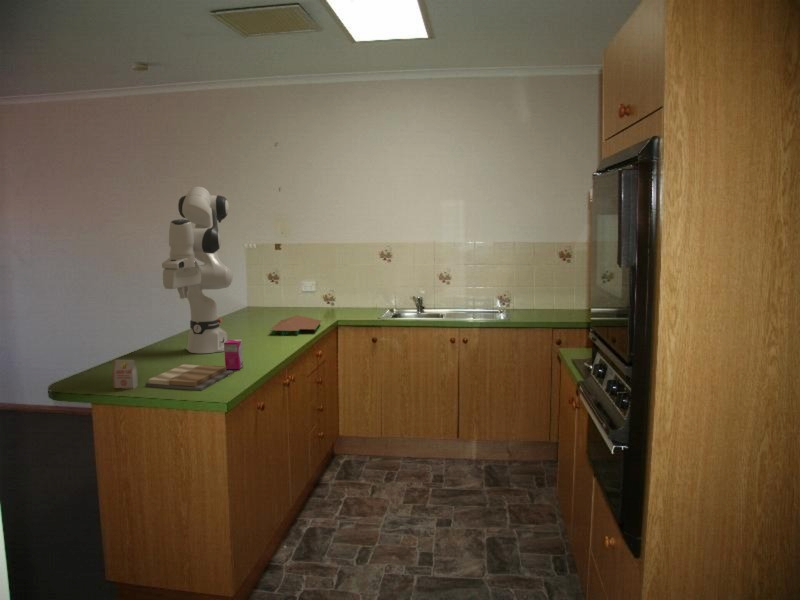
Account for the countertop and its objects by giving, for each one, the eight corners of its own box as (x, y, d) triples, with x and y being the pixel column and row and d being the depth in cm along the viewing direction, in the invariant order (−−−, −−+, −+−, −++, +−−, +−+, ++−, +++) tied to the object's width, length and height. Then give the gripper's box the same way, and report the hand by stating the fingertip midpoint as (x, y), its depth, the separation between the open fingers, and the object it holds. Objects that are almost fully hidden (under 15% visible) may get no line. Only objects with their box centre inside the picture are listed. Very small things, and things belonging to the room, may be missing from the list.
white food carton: (118, 385, 202) (117, 358, 200) (137, 385, 202) (136, 358, 200) (113, 388, 198) (112, 361, 197) (133, 388, 198) (131, 361, 197)
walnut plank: (202, 368, 221) (202, 365, 221) (226, 370, 219) (226, 366, 219) (169, 384, 200) (169, 380, 199) (195, 386, 198) (195, 382, 197)
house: (322, 325, 324) (322, 311, 323) (314, 337, 291) (313, 321, 290) (282, 324, 324) (282, 310, 322) (269, 336, 291) (269, 321, 290)
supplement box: (229, 366, 229) (228, 339, 227) (243, 367, 229) (243, 339, 227) (224, 370, 223) (223, 342, 222) (239, 370, 223) (238, 342, 222)
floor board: (182, 369, 223) (182, 363, 223) (233, 373, 219) (233, 366, 219) (145, 386, 201) (145, 379, 201) (201, 390, 197) (201, 383, 196)
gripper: (190, 260, 226) (191, 294, 228) (158, 264, 206) (160, 301, 208) (204, 260, 225) (205, 295, 227) (174, 264, 205) (176, 302, 207)
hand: (183, 298), depth 217 cm, fingers closed
